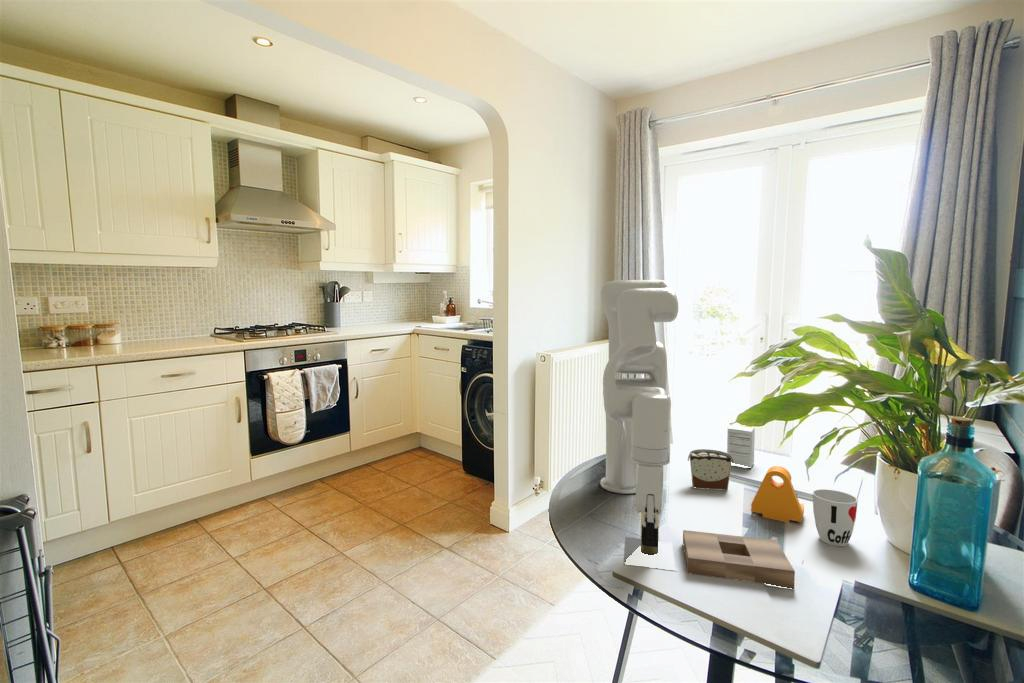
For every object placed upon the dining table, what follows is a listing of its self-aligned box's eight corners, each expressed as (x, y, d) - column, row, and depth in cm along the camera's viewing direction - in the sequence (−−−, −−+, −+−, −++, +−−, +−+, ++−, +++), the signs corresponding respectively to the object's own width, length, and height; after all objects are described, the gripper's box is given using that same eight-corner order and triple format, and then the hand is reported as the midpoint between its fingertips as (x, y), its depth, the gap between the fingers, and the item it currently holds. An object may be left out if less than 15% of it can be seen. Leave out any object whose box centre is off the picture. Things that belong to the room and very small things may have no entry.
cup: (825, 549, 99) (827, 503, 98) (803, 531, 107) (804, 488, 107) (865, 550, 99) (866, 503, 98) (840, 532, 107) (841, 489, 106)
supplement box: (730, 460, 160) (731, 423, 160) (754, 463, 156) (755, 426, 155) (726, 465, 154) (726, 427, 154) (751, 470, 150) (752, 431, 149)
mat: (625, 539, 104) (625, 536, 104) (673, 544, 101) (673, 542, 101) (623, 567, 92) (623, 564, 92) (677, 574, 90) (677, 571, 90)
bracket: (803, 514, 116) (805, 467, 116) (801, 525, 110) (802, 475, 110) (755, 504, 123) (756, 459, 122) (751, 514, 117) (752, 467, 116)
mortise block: (682, 545, 101) (683, 530, 101) (775, 556, 96) (776, 540, 96) (688, 575, 89) (688, 557, 89) (794, 589, 84) (794, 571, 84)
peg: (640, 547, 99) (641, 496, 98) (658, 550, 98) (658, 498, 97) (640, 556, 96) (641, 503, 95) (658, 558, 95) (659, 505, 94)
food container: (727, 483, 139) (727, 449, 138) (733, 490, 132) (734, 455, 132) (683, 480, 141) (684, 447, 140) (687, 488, 135) (688, 453, 134)
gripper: (632, 441, 105) (631, 522, 106) (630, 464, 89) (629, 558, 90) (667, 444, 103) (666, 525, 104) (672, 467, 87) (671, 563, 88)
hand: (649, 540), depth 97 cm, fingers closed on peg, 3 cm apart
